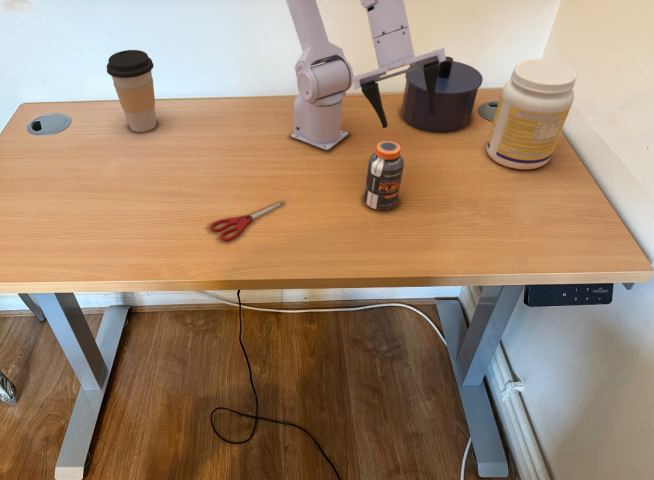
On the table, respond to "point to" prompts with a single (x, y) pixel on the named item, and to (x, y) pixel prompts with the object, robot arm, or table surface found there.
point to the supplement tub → (531, 113)
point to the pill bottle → (384, 176)
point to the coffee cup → (134, 87)
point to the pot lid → (448, 78)
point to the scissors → (237, 223)
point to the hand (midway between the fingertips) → (408, 120)
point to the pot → (437, 110)
